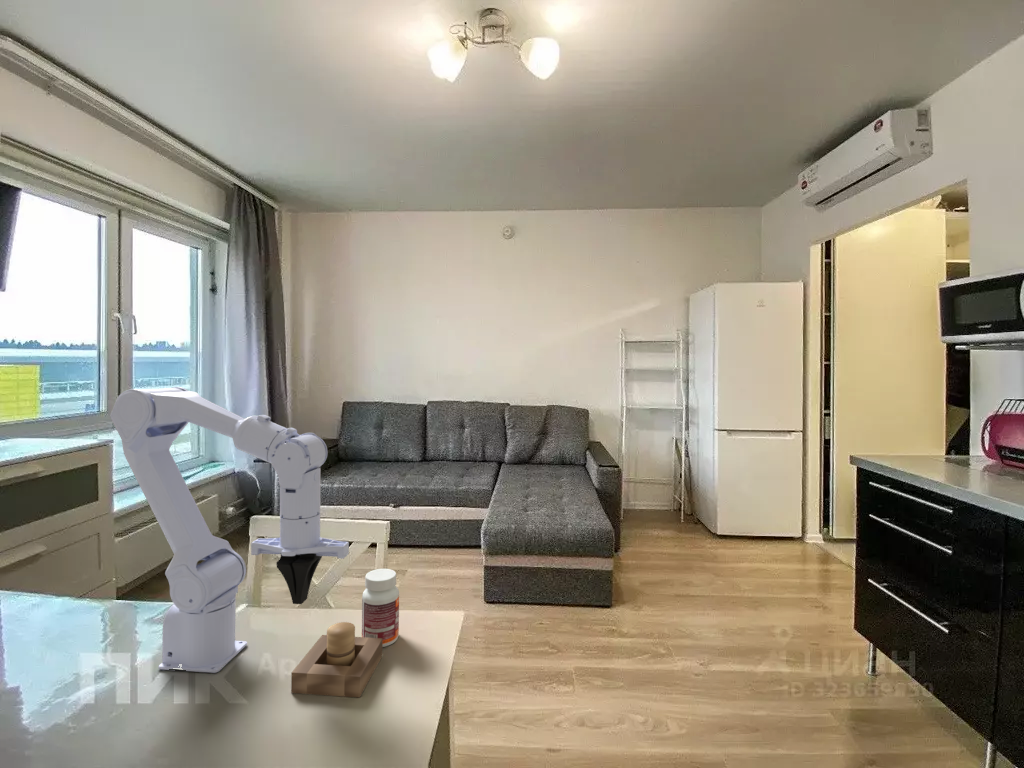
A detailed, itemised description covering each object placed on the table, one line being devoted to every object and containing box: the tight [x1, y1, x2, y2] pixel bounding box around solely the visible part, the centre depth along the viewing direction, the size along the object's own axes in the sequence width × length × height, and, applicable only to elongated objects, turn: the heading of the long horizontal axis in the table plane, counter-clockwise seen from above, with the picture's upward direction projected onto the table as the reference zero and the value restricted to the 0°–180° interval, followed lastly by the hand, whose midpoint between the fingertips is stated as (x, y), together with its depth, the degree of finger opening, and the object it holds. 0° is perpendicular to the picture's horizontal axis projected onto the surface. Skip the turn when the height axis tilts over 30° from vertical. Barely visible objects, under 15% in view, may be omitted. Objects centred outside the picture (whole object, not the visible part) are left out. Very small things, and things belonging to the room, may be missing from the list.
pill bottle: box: [361, 568, 400, 648], centre depth 85 cm, size 6×6×11 cm
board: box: [290, 634, 383, 699], centre depth 76 cm, size 10×10×3 cm
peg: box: [326, 621, 356, 666], centre depth 76 cm, size 4×4×7 cm
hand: (300, 601), depth 77 cm, fingers closed
